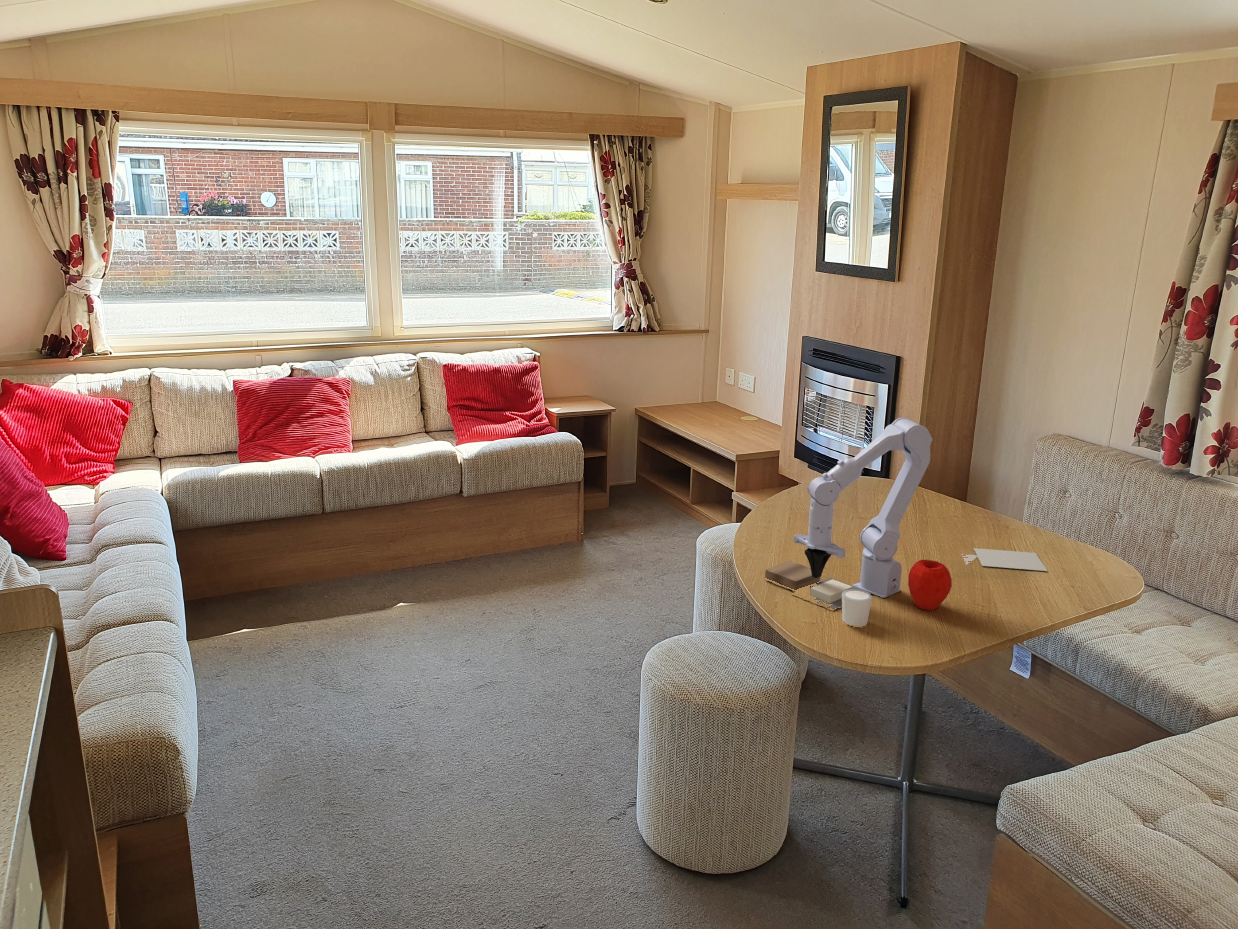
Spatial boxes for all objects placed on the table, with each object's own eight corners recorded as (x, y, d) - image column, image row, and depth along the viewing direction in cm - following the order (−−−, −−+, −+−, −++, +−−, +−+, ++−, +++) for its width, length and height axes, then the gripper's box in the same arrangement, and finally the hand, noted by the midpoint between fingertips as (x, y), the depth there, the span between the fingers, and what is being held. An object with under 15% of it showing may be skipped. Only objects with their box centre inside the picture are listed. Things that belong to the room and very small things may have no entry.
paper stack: (1056, 587, 235) (1057, 584, 235) (955, 578, 239) (955, 576, 239) (1035, 555, 257) (1035, 552, 257) (942, 548, 261) (943, 545, 261)
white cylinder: (864, 616, 215) (867, 588, 213) (873, 628, 209) (876, 600, 207) (836, 616, 215) (838, 588, 213) (844, 629, 208) (846, 600, 207)
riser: (819, 582, 235) (820, 572, 234) (795, 592, 228) (795, 581, 228) (789, 571, 242) (790, 560, 241) (764, 580, 236) (765, 569, 235)
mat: (871, 594, 228) (871, 592, 227) (832, 611, 218) (832, 609, 217) (830, 579, 237) (830, 577, 237) (791, 594, 227) (791, 593, 227)
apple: (952, 604, 222) (957, 558, 219) (943, 619, 214) (949, 571, 211) (910, 595, 227) (915, 550, 224) (901, 609, 219) (905, 562, 216)
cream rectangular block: (832, 579, 230) (832, 586, 231) (810, 588, 225) (809, 595, 225) (852, 586, 226) (851, 593, 227) (830, 595, 220) (829, 603, 221)
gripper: (787, 521, 228) (783, 571, 231) (834, 536, 217) (830, 589, 221) (804, 515, 232) (801, 565, 236) (852, 530, 222) (847, 582, 225)
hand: (816, 576), depth 229 cm, fingers closed
